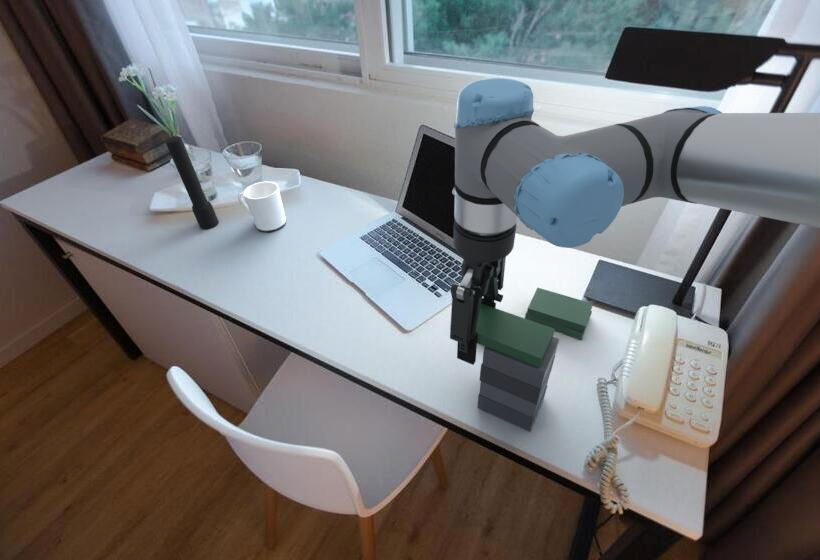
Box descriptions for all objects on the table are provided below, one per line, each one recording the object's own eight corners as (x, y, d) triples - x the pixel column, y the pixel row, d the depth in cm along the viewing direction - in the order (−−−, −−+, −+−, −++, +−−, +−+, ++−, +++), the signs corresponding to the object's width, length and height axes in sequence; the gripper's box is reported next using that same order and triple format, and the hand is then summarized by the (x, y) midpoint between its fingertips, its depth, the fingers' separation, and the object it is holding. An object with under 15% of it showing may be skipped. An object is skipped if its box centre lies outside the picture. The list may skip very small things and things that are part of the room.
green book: (539, 368, 58) (541, 358, 57) (452, 333, 64) (452, 324, 62) (552, 338, 62) (554, 328, 61) (469, 308, 67) (470, 299, 66)
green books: (581, 340, 81) (585, 327, 78) (524, 320, 85) (526, 307, 83) (590, 316, 85) (594, 303, 83) (535, 299, 90) (538, 286, 87)
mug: (291, 214, 119) (281, 180, 113) (284, 232, 113) (274, 198, 106) (252, 216, 120) (240, 182, 113) (243, 234, 113) (230, 200, 106)
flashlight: (201, 231, 115) (220, 225, 117) (162, 145, 99) (185, 139, 101) (198, 222, 118) (216, 217, 120) (160, 137, 102) (182, 132, 104)
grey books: (530, 432, 68) (545, 373, 58) (476, 407, 71) (482, 348, 61) (543, 398, 72) (560, 338, 62) (493, 377, 76) (500, 317, 66)
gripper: (487, 178, 59) (477, 299, 75) (419, 254, 47) (424, 379, 63) (540, 190, 56) (519, 313, 72) (482, 274, 44) (472, 401, 60)
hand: (475, 344), depth 67 cm, fingers closed on green book, 6 cm apart
